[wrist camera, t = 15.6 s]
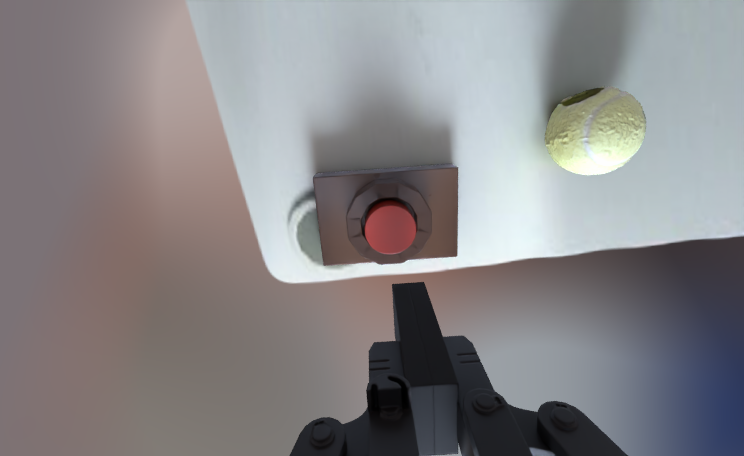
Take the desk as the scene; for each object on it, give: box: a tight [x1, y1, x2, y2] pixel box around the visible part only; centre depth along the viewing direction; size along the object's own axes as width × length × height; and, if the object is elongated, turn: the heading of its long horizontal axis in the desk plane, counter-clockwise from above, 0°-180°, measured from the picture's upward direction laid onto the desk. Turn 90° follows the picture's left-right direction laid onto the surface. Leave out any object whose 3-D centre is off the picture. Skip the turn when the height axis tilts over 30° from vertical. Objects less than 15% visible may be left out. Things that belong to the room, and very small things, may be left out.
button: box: [365, 200, 416, 254], centre depth 28 cm, size 4×4×2 cm
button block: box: [313, 164, 458, 266], centre depth 31 cm, size 12×8×4 cm, turn 94°
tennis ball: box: [545, 86, 646, 175], centre depth 27 cm, size 6×7×7 cm
